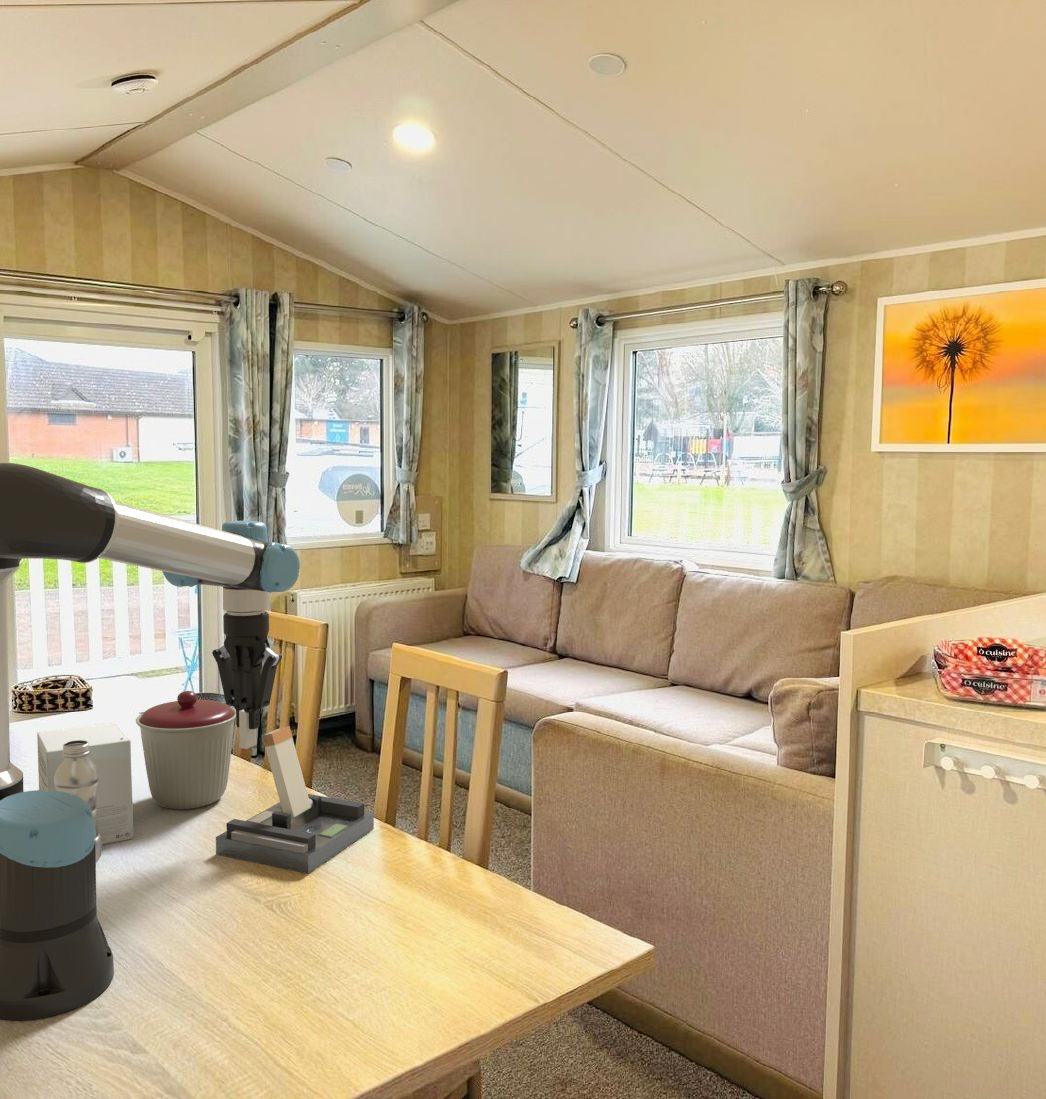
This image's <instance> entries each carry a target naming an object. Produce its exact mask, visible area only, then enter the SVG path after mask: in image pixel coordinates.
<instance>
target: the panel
mask: <svg viewBox="0 0 1046 1099" xmlns="http://www.w3.org/2000/svg"><path fill="white" fill-rule="evenodd" d="M311 794H312V793H308V797H309V799H311V800H312V801H313V807H311V808H310V809H308V810H306V811H304V812H303V813H301V814H299V815H298V816H296V817H294V818H292V819H291V814H289V813H284V812H283V811H282V807H281V804H280V801H279V802H278V803H275V804H273V805H272V806H269V807H267V809H265V810H263V811H260V812H259V813H257V814H255V815H254V816H251V817H250V818H248V819H246V820H245V821H248V822H253V823H259V824H264V825H269V826H274V827H280V828H285V829H290V830H296V831H301V832H306V833H311V834H315V838H316V846H315V847H314V848H312V849H311V850H309V851H307V852H306V853H304V854H301V853H296V852H291V851H286V850H281V849H276V848H271V847H266V846H261V845H256V844H251V843H246V842H241V841H236V840H231V835H227V830H225V832H222V833H221V834H219V835H217V836H215V854H216V855H217V856H221V857H227V858H230V859H236V860H241V861H245V862H249V863H256V864H261V865H264V866H270V867H274V868H279V869H284V870H287V871H288V870H289V871H294V872H299V873H303V874H307V875H308V874H310V873H312V872H314V871H315V870H316V869H318V868H319V867H320V866H322V865H324V863H326V862H328V861H329V860H331V859H332V858H334V857H335V856H336V855H338V854H340V853H341V852H342V851H344V850H345V849H347V848H349V846H351V845H352V844H354V843H355V842H357V841H358V840H359V839H361V838H362V837H364V836H366V835H367V834H369V833H370V832H371V831H372V830H374V828H375V824H374V823H375V821H374V820H375V819H374V811H369V810H368V811H367V810H364V815H363V816H361V817H360V818H353V817H348V816H342V815H336V814H331V813H325V812H322V810H321V796H322V795H318V796H317V794H312V795H311Z"/></svg>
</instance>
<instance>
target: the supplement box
mask: <svg viewBox="0 0 1046 1099" xmlns="http://www.w3.org/2000/svg"><path fill="white" fill-rule="evenodd" d="M36 736H37V762H38V763H37V764H38V765H37V766H38V768H37V769H38V771H37V772H38V773H37V774H38V790H45V792H51V791H53V790H55V791H56V788H55V783H54V776H55V772H56V771H57V769H58V767H59V766H60V764H61V763H62V762H63V760H64V758H65V757H63V756H62V753H63V744H64V743H66V742H69V741H75V740H85V741H88V743H89V754H88V755H87V756H88V758H89V759H90V760H91V761H92V762H93V763H94V765H95V766H96V767H97V770H98V773H99V780H98V789H97V806H96V809H97V811H96V815H97V822H98V830H99V834H100V838H101V842H102V845H105V844H106V845H107V844H111V843H116V842H122V841H128V840H132V839H134V811H133V806H134V804H133V784H132V783H133V782H132V777H133V776H132V752H131V750H132V748H131V746H132V745H131V740H130V738H129V737H128V736H127V735H126V733H125V732H124V731H123V729H121V727H120V726H119V724H118V723H117V722H116V721H112V722H105V723H98V724H91V725H83V726H78V727H77V726H76V727H68V728H61V729H55V730H46V731H37V734H36Z"/></svg>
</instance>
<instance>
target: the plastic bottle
mask: <svg viewBox="0 0 1046 1099" xmlns="http://www.w3.org/2000/svg"><path fill="white" fill-rule="evenodd" d="M88 754H89V743H88V741H85V740H75V741H69V742H66V743H64V744H63V753H62V756H63V757H65V758H64V760H63V762H62V763H61V764H60V766H59V767H58V769H57V771H56V772H55V776H54V783H55V788H56V791H63V792H67V793H70V794H73V795H76V796H78V797H80V798H81V799H83V800H84V801H85V802H86V803H87V804H88V805H89V806H90V808H91V810H92V814H93V821H94V827H95V831H96V840H95V841H96V842H95V849H96V864H97V863H98V862H99V860H100V858H102V852H103V844H102V842H101V838H100V834H99V830H98V822H97V815H96V811H97V809H96V806H97V789H98V780H99V773H98V770H97V767H96V766H95V765H94V763H93V762H92V761H91V760H90V759H89V758H88V756H87V755H88Z"/></svg>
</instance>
